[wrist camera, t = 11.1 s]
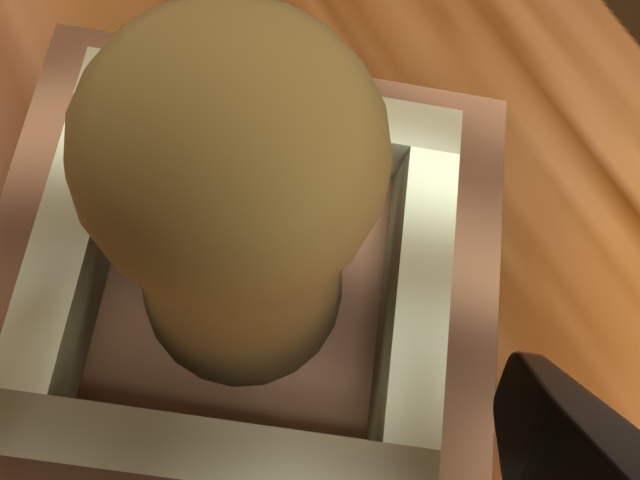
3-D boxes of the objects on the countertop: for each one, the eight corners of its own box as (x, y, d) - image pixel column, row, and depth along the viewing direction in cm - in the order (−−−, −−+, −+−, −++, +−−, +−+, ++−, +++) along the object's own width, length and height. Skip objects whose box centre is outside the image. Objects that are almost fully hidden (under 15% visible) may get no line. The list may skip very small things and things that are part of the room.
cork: (363, 361, 18) (501, 261, 8) (162, 409, 17) (19, 367, 7) (316, 180, 20) (380, -96, 10) (130, 215, 19) (-22, -52, 9)
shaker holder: (477, 597, 17) (525, 633, 14) (-92, 524, 17) (-174, 544, 13) (498, 112, 23) (537, 59, 19) (63, 37, 22) (31, -30, 19)
